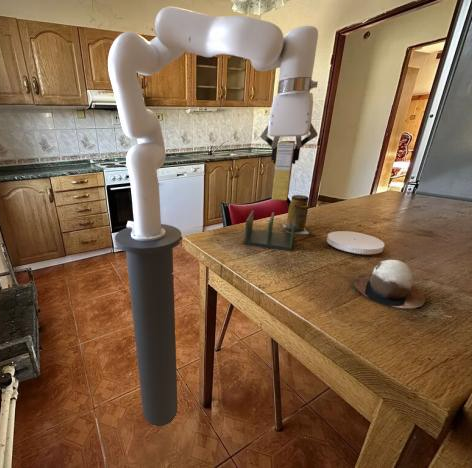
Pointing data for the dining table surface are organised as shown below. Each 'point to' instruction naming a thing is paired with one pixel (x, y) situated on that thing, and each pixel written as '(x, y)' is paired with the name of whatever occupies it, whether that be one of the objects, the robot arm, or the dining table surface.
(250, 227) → the rack
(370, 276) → the bowler hat
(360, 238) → the plastic lid
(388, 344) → the dining table surface
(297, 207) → the condiment
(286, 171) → the candy box
